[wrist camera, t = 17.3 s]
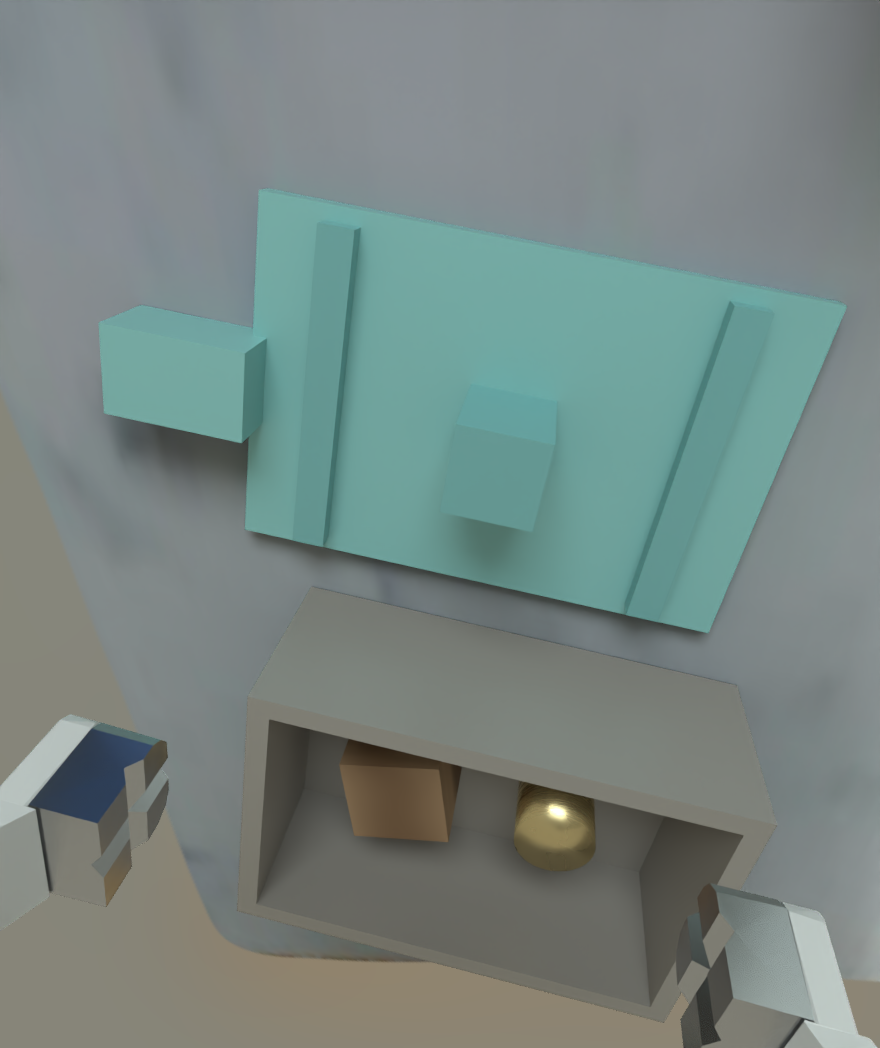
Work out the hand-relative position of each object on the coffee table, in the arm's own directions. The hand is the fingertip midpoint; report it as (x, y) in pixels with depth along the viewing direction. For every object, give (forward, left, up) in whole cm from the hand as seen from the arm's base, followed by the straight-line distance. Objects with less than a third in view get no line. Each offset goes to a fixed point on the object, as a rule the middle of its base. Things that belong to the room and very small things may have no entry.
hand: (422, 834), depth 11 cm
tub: (-2, +15, -18) cm, 24 cm away
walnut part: (+1, +15, -17) cm, 23 cm away
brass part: (-5, +15, -17) cm, 23 cm away
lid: (+2, 0, -18) cm, 18 cm away
